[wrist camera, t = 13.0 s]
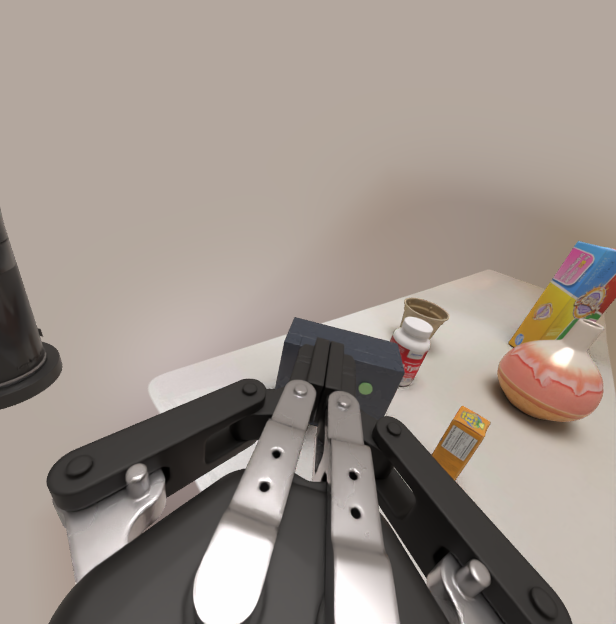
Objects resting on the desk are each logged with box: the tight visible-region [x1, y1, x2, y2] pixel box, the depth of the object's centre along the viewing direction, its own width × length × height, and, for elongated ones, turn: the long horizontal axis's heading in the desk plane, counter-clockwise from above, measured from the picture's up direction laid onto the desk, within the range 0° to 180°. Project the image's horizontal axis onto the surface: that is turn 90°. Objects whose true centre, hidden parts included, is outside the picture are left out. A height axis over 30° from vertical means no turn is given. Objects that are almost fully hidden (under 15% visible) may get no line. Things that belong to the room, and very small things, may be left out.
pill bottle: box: [390, 317, 433, 386], centre depth 47 cm, size 6×6×11 cm
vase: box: [497, 318, 604, 422], centre depth 46 cm, size 14×14×18 cm
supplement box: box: [432, 406, 491, 480], centre depth 31 cm, size 3×3×10 cm
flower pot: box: [400, 298, 450, 340], centre depth 60 cm, size 9×9×9 cm
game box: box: [509, 241, 616, 347], centre depth 66 cm, size 21×6×27 cm, turn 111°
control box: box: [275, 317, 405, 426], centre depth 36 cm, size 14×6×12 cm, turn 81°
